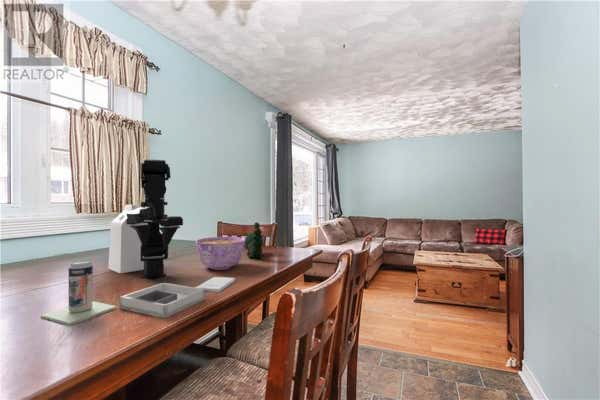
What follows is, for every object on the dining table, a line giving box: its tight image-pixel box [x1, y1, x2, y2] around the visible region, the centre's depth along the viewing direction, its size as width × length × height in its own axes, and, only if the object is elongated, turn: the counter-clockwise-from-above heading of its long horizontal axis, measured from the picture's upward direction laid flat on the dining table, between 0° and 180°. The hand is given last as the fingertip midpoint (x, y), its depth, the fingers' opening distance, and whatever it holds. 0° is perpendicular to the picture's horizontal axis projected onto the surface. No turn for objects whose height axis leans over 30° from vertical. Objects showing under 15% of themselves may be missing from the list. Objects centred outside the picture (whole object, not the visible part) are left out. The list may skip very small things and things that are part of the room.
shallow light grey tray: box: [118, 282, 206, 319], centre depth 80 cm, size 16×14×3 cm
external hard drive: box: [195, 276, 236, 293], centre depth 97 cm, size 2×8×12 cm
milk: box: [107, 204, 148, 274], centre depth 119 cm, size 12×12×26 cm
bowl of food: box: [195, 236, 245, 271], centre depth 121 cm, size 20×20×12 cm
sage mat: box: [40, 300, 117, 326], centre depth 73 cm, size 11×11×1 cm
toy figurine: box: [244, 221, 264, 260], centre depth 144 cm, size 9×19×25 cm
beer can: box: [68, 260, 94, 313], centre depth 73 cm, size 5×5×12 cm
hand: (154, 247), depth 93 cm, fingers open, 9 cm apart
